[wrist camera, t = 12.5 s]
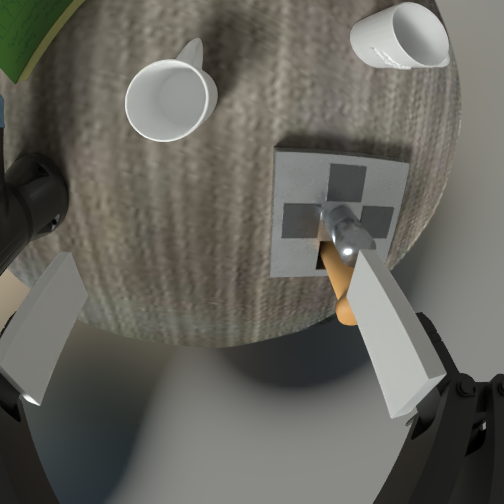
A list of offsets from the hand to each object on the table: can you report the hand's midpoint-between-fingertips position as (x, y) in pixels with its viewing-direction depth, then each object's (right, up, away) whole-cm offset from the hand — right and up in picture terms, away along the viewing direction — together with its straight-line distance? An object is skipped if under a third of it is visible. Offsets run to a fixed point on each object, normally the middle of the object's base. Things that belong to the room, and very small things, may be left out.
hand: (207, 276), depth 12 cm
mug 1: (-6, +23, +19) cm, 30 cm away
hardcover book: (-36, +42, +6) cm, 55 cm away
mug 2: (+21, +30, +15) cm, 40 cm away
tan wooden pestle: (+15, +2, +33) cm, 36 cm away
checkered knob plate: (+15, +7, +30) cm, 34 cm away
